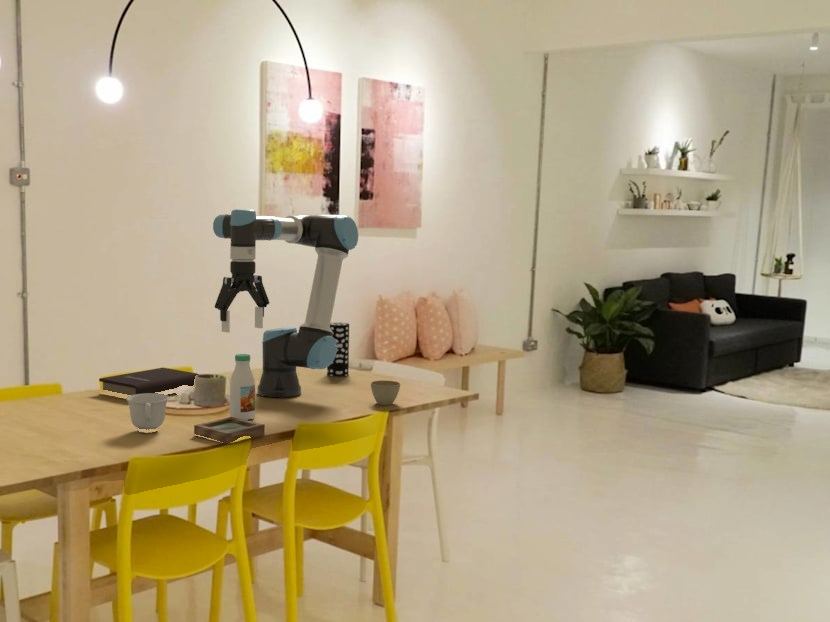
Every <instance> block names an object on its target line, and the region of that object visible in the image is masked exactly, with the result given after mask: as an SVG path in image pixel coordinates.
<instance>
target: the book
mask: <svg viewBox="0 0 830 622" xmlns="http://www.w3.org/2000/svg"><path fill="white" fill-rule="evenodd" d="M196 375H199V376H200V374H199V373H196V372H191V371H184V370H180V369H173V368H168V367H158V368H151V369H146V370H141V371H134V372H130V373H123V374H122V373H121V374H117V375H112V376H106V377H100V378H99V382H102V391H103V390H108V391H112V392H117V393H122V394H127V395H135V394H144V393H155V392H161V391H165V390H169V389H174V388H177V387H179V386H182V385H188V386H193V385H194V379H195V376H196Z"/></svg>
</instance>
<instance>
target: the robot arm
mask: <svg viewBox="0 0 830 622" xmlns="http://www.w3.org/2000/svg"><path fill="white" fill-rule="evenodd" d="M212 230H213V233H214V234H215V236H216V237H217V238H221V239H225V240H226V239H230V252H229V253H230V257H229V259H231V261H230V263H229V264H230V265H229V266H230V267H229V270H230V273H231V277H229V276H228V277H227V276H224V277H223V278H222V285H221V288H220V291H219V293H218V296H217V298H216V301H215V303H214V309H217V310H218V311H219V313H220V314H219V316H220V317H219V318H220V321H221V332H223V333H230V331H231V330H230V328H231V327H230V326H231V325H230V324H231V323H230V321H231V320H230V319H231V317H230V316H231V315H230V313H231V312H230V310H229V307H231V305H232V303H233V302H234V300H235V298H236V296H237V295H238V294H239V293H240V292H247V293H248V294H249V295H250V297H251V298H252V300H253V302H254V303H255V304H256V306H254V329H255V328H257V329H263V328H264V327H263V326H264V324H263V323H264V317H265V308H267V306H268V305H270V300H269V297H268V294H267V292H266V289H265V285H264V283H263V276H262V275H259V274H258V275H255V274H256V261H255V260H256V246H257V245H256V242H257V241H284V242H286V243H287V244H295V245H301V246H306V247H312V248H314V251H315V253H316V254H317V259H316V265H315V270H314V276H313V278H312V279H313V280H312V286H311V290H310V294H309V295H310V296H309V301H308V307H307V309H306V315H305V320H304V323H302V324H300V325H299V327H298V328H299V329H298V330H297V327H294V326H293V327H292V326H291V327H289V326H288V327H277V328H271V329H270V328H269V329H267V330H265V331H264V332H263V334H262V335H263V336H262V341H261V343H262V373H261V375H260V379H259V384H258V385H257V393H258V394H260V395H263V396H262V397H264V396H268V397H267V398H272V397H279V398H280V399H283V398H284V399H285V397H286V398H293V397H298V396H300V395H301V394H302V386H301V385H300V381H299V378H298V374H297V367H299V368H304V369H305V368H306V369H310V370H325V369H327V367H328V366H329V365H331V363H332V362H333V360H334V358H335V356H336V353H337V345H336V344H337V343H336V340H335V339H334V338H333V337H332V336H333V332H332V330H331V329H330V323H332V322H331V321H332V317H333V313H334V312H333V311H334V306H335V301H336V297H337V296H336V295H337V290H338V286H339V285H338V284H339V280H340V275H341V270H342V265H343V261H344V260H345V259H346V258H348V257H349V252H350V251H351V250H353V249H355V248H356V247H357V245H358V241H359V230H358V226H357V224H356V221H354V219H353V218H352V217H351V216H349V215H342V214H317V213H313V214H304V215H303V214H302V215H288V216H286V217H285V218H284V217H277V216H272V215H257V212H256V211H255V209H238V208H237V209H233V210H231V213H230V214H227V213H226V214H219V215H217V216H216V217H214V219H213V223H212ZM258 394H257V395H258ZM260 395H259V396H260ZM279 398H278V399H279Z"/></svg>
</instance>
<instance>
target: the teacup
mask: <svg viewBox="0 0 830 622" xmlns="http://www.w3.org/2000/svg"><path fill="white" fill-rule="evenodd" d="M169 399H170V395H164V394H158V393H144V394H135V395H131V396H128V397H127V398H126V400H125V401H127V402H128V408H129V413H130V414H129V415H130V420H131V423H132V425H133V426H134V427H136V428H137V429H138V428H139V429H146V430H147V429H148V430H149V429H156V428H158V429H159V427H160V426H162V425H163V424H164V421H165V417H166V409H167V403H168V400H169Z"/></svg>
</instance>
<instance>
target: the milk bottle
mask: <svg viewBox="0 0 830 622" xmlns="http://www.w3.org/2000/svg"><path fill="white" fill-rule="evenodd" d="M234 362H235V366H234V370H233V372H232V374H231V376H230V382H229V417H234V418H238V419H243V420H247V421H249V420H248V419H252V420H254V419H255V418H256V383H255V382H256V379H255V377H254V373H253V372H252V369H251V366H250V363H251V355H250V354H248V353H239V354H235V356H234ZM254 417H255V418H254ZM253 418H254V419H253Z"/></svg>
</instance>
